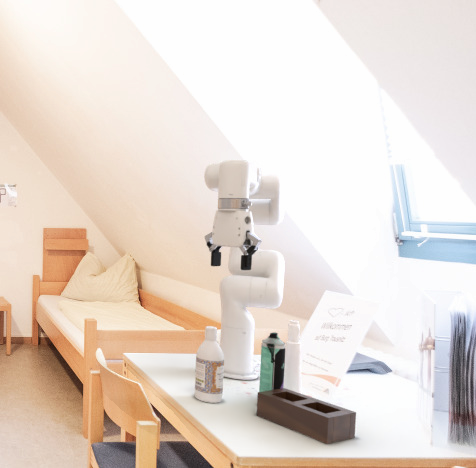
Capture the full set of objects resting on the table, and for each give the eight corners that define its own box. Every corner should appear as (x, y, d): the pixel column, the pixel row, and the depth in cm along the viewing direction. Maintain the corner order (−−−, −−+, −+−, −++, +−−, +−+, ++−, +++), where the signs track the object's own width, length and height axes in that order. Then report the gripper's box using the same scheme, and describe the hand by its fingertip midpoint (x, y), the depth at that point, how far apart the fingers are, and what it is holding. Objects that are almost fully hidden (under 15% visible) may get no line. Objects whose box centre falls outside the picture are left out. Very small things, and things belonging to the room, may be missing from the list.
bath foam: (212, 405, 142) (216, 331, 141) (189, 397, 148) (192, 326, 147) (227, 400, 146) (230, 328, 145) (203, 392, 151) (206, 323, 150)
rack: (283, 410, 139) (284, 387, 139) (354, 437, 123) (356, 412, 122) (256, 415, 135) (257, 392, 135) (326, 444, 119) (328, 417, 119)
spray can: (284, 412, 138) (288, 336, 137) (260, 409, 140) (264, 333, 139) (279, 405, 143) (283, 331, 142) (256, 402, 145) (260, 329, 144)
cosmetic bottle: (287, 403, 144) (291, 323, 143) (273, 395, 151) (276, 318, 149) (308, 403, 145) (312, 323, 144) (293, 395, 151) (297, 318, 150)
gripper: (271, 206, 139) (268, 271, 139) (216, 205, 154) (214, 264, 155) (251, 205, 136) (248, 272, 136) (197, 205, 152) (195, 265, 152)
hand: (230, 268), depth 146 cm, fingers open, 9 cm apart
